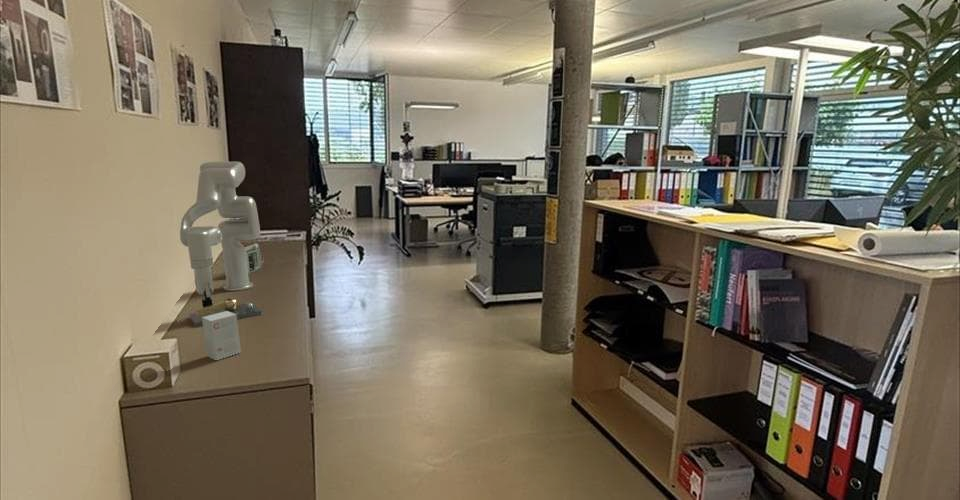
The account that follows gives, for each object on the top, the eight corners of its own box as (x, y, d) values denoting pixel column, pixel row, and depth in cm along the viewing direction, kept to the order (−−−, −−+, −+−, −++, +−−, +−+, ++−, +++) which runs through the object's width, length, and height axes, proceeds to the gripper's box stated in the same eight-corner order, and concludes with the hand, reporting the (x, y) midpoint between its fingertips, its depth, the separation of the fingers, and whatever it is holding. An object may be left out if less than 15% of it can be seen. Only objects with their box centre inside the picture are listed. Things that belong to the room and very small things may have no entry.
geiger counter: (237, 250, 261) (266, 241, 285) (225, 250, 262) (256, 241, 286) (240, 278, 264) (269, 266, 288) (228, 277, 265) (258, 266, 289)
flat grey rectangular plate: (189, 317, 203) (188, 307, 203) (252, 305, 217) (251, 296, 216) (195, 327, 192) (194, 316, 191) (261, 314, 205) (260, 304, 205)
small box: (232, 348, 171) (227, 310, 169) (241, 353, 167) (236, 314, 165) (206, 356, 165) (201, 316, 163) (215, 361, 161) (210, 321, 159)
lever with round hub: (194, 317, 198) (193, 306, 197) (233, 306, 210) (232, 296, 209) (200, 319, 195) (199, 308, 195) (239, 308, 208) (238, 297, 207)
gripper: (187, 260, 202) (194, 306, 206) (193, 268, 190) (200, 316, 194) (209, 257, 207) (215, 302, 210) (216, 265, 195) (222, 312, 199)
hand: (208, 309), depth 202 cm, fingers closed
